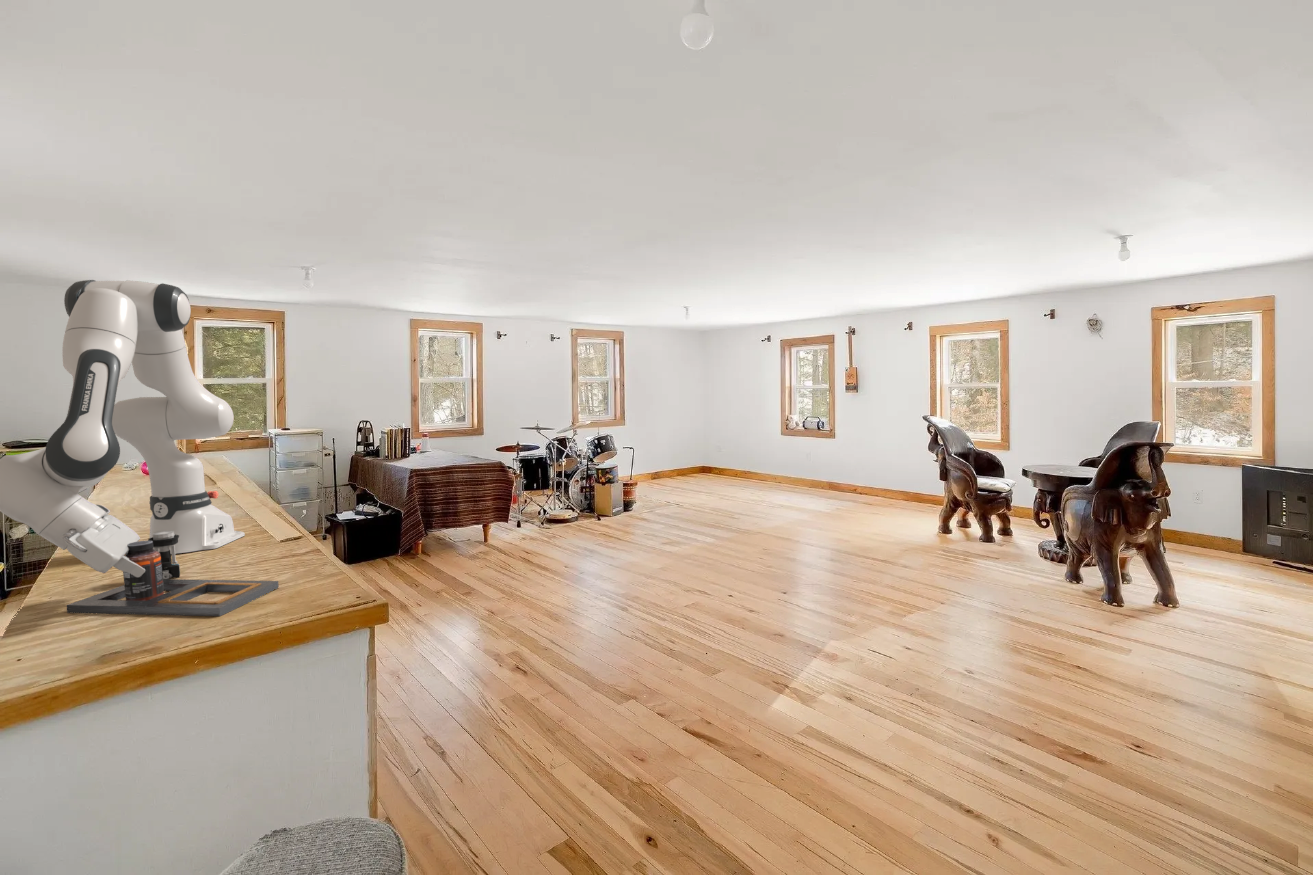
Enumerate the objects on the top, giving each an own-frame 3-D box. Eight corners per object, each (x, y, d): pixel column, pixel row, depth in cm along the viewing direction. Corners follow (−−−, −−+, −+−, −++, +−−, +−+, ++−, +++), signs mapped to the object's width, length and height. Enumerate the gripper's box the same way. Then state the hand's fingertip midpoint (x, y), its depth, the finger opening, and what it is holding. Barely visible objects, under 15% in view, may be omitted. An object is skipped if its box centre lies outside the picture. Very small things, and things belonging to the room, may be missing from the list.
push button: (142, 584, 135) (138, 537, 135) (144, 578, 140) (140, 533, 139) (181, 578, 139) (178, 533, 138) (182, 572, 144) (179, 528, 143)
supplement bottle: (161, 592, 130) (157, 537, 129) (166, 599, 126) (162, 542, 125) (123, 599, 126) (119, 542, 125) (127, 606, 122) (122, 548, 121)
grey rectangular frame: (142, 585, 134) (142, 577, 134) (278, 588, 132) (278, 579, 132) (67, 612, 119) (66, 603, 118) (220, 616, 116) (219, 607, 116)
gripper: (75, 522, 112) (150, 569, 118) (105, 503, 130) (168, 545, 135) (43, 551, 110) (120, 597, 116) (78, 528, 128) (143, 568, 134)
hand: (146, 568), depth 126 cm, fingers closed on supplement bottle, 6 cm apart
